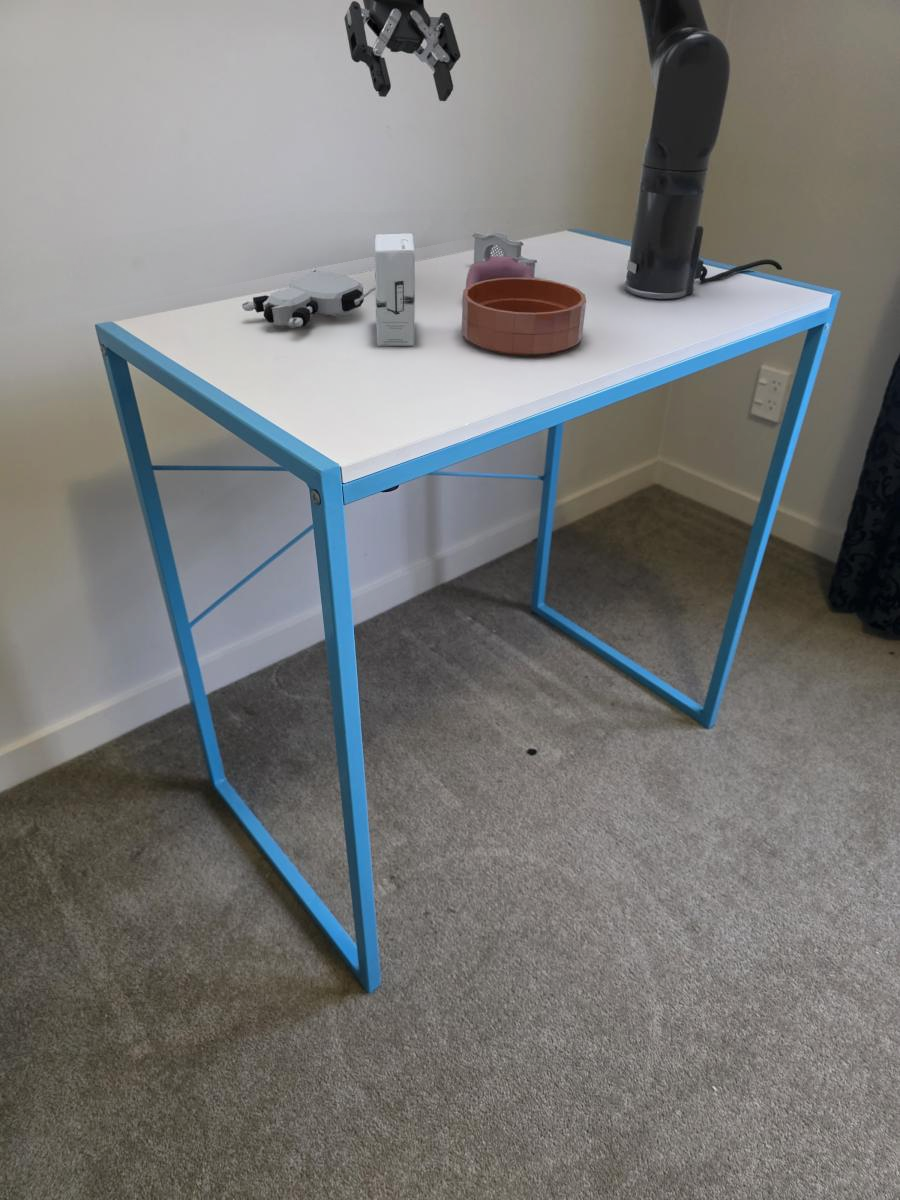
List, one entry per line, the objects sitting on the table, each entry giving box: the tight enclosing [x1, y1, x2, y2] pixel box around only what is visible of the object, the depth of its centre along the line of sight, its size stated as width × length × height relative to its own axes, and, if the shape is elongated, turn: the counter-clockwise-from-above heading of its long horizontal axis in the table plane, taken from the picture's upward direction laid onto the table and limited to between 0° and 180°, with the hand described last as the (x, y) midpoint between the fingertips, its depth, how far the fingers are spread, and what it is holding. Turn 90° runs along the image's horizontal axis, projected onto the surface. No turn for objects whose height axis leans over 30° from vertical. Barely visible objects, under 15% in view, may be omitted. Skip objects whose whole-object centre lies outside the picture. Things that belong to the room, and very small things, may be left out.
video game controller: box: [465, 255, 535, 289], centre depth 124 cm, size 10×5×7 cm, turn 84°
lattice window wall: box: [471, 231, 538, 275], centre depth 136 cm, size 12×2×6 cm, turn 49°
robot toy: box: [241, 269, 375, 329], centre depth 116 cm, size 12×4×15 cm
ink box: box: [374, 233, 416, 347], centre depth 109 cm, size 9×5×12 cm, turn 4°
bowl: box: [461, 277, 587, 356], centre depth 111 cm, size 16×16×6 cm
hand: (416, 95), depth 107 cm, fingers open, 8 cm apart
